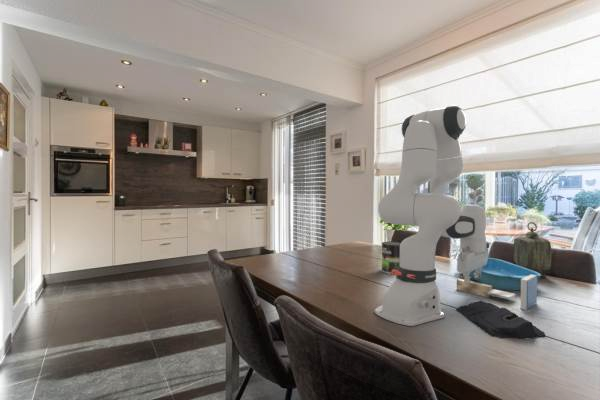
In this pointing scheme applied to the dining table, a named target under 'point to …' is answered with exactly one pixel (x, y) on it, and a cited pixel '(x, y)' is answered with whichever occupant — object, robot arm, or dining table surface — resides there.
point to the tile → (528, 291)
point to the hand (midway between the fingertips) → (472, 280)
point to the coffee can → (390, 256)
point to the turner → (482, 289)
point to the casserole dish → (503, 274)
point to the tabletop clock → (532, 251)
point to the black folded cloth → (499, 321)
